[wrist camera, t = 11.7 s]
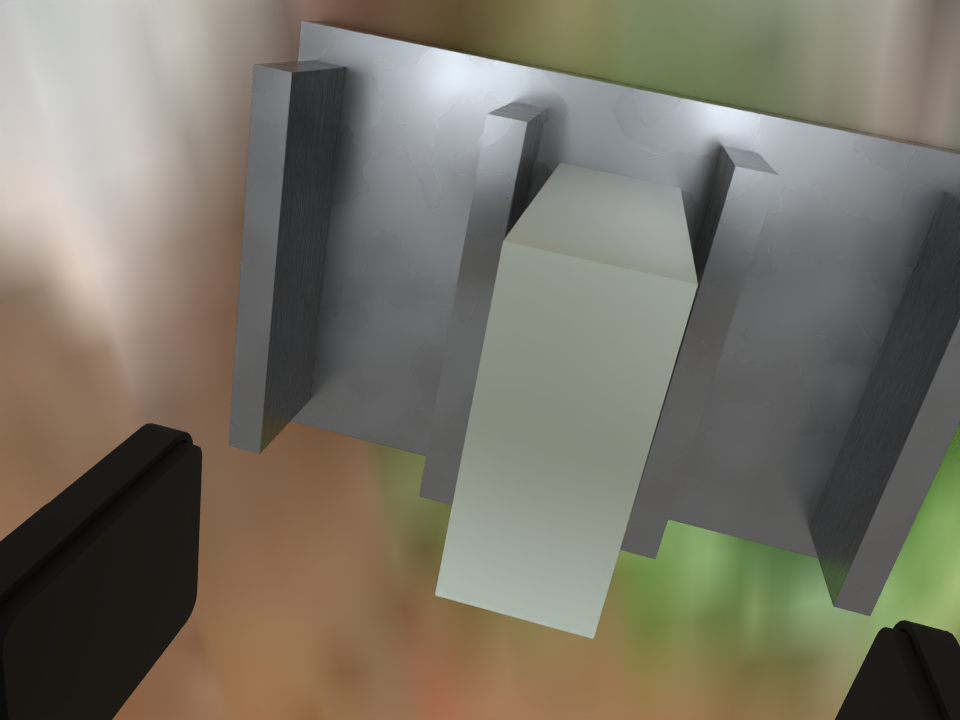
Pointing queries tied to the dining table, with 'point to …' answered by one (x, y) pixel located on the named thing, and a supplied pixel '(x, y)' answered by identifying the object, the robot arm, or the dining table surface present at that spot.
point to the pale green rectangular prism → (568, 396)
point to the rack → (712, 319)
